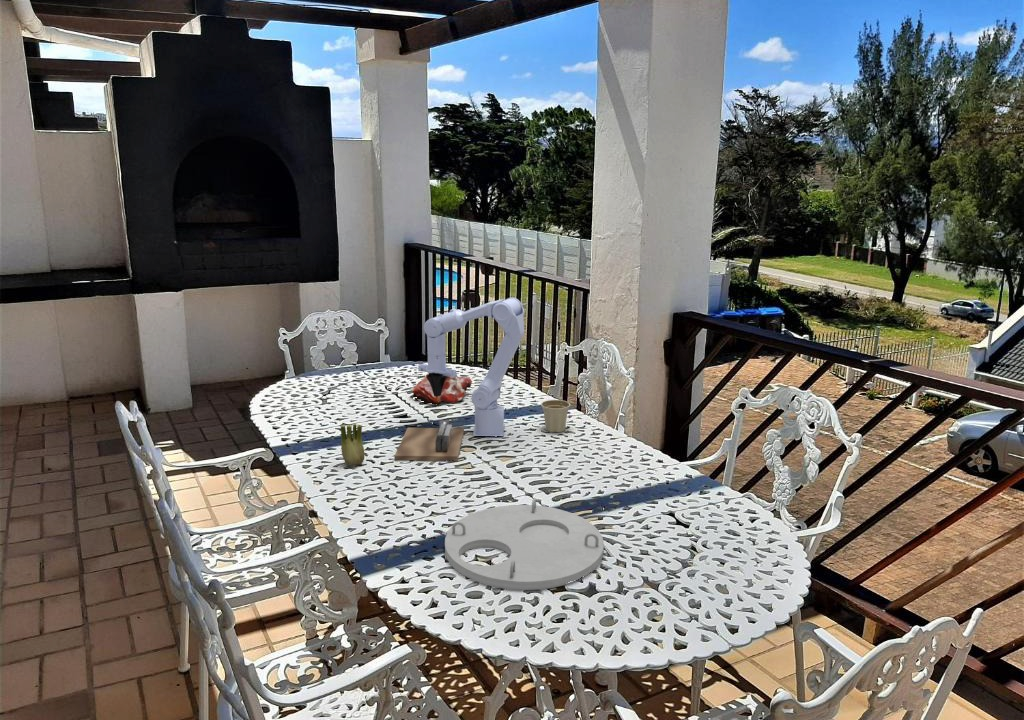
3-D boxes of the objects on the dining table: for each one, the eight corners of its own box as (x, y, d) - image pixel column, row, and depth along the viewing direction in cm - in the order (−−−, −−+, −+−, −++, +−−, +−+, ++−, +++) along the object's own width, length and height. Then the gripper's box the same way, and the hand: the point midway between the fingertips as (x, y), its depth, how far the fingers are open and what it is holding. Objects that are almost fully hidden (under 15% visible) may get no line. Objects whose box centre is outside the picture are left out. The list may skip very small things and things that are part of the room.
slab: (598, 599, 141) (599, 576, 140) (425, 582, 147) (424, 559, 146) (607, 519, 174) (607, 500, 173) (465, 507, 180) (465, 489, 179)
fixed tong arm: (447, 433, 225) (447, 424, 225) (452, 433, 225) (452, 424, 225) (442, 451, 211) (441, 441, 210) (447, 451, 211) (447, 441, 210)
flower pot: (536, 432, 233) (536, 406, 230) (546, 423, 241) (546, 398, 239) (564, 436, 229) (565, 410, 227) (573, 427, 238) (574, 401, 235)
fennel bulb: (340, 465, 205) (338, 425, 202) (351, 459, 209) (349, 420, 206) (357, 469, 202) (355, 428, 200) (367, 463, 207) (365, 423, 204)
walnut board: (464, 432, 232) (464, 428, 231) (457, 461, 208) (457, 456, 208) (407, 432, 232) (407, 427, 231) (394, 460, 209) (394, 455, 208)
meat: (466, 407, 258) (466, 380, 255) (407, 405, 259) (406, 378, 257) (474, 390, 278) (474, 365, 275) (419, 389, 280) (418, 364, 277)
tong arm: (440, 429, 229) (439, 419, 228) (449, 429, 229) (448, 419, 228) (433, 451, 211) (433, 440, 210) (443, 451, 211) (442, 440, 210)
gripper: (411, 353, 233) (412, 394, 236) (445, 360, 224) (446, 402, 228) (426, 349, 238) (427, 389, 242) (460, 356, 230) (460, 397, 233)
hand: (437, 395), depth 235 cm, fingers closed
